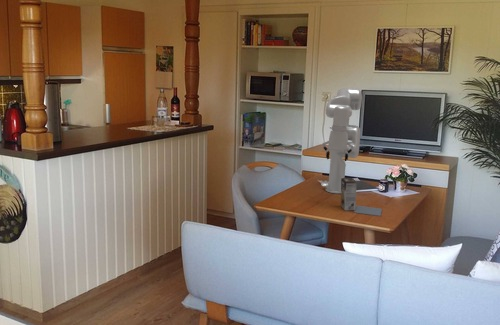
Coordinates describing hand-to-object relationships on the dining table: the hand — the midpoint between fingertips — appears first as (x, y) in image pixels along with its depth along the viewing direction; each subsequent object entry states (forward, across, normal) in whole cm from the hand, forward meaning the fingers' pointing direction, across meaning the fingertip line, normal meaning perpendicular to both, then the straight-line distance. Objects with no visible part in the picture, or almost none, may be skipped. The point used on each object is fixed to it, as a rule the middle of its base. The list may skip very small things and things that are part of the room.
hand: (336, 159), depth 285 cm
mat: (+26, +20, 0) cm, 33 cm away
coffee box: (+26, +9, 0) cm, 28 cm away
